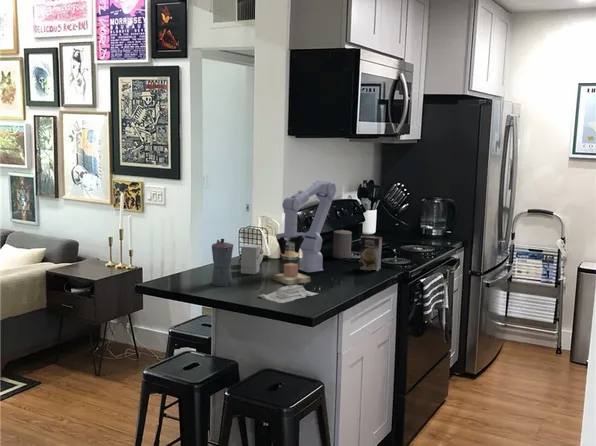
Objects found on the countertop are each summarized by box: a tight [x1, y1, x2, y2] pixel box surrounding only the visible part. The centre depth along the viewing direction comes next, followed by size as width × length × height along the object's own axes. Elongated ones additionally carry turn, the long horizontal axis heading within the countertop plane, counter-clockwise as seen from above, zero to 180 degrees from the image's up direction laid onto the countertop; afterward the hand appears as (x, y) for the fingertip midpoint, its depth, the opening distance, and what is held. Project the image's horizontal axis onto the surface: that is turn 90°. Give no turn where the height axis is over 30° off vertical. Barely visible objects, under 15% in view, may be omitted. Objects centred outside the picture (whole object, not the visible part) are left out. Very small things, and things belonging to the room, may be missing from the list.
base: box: [272, 272, 311, 286], centre depth 277 cm, size 12×12×2 cm
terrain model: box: [257, 284, 319, 304], centre depth 252 cm, size 17×23×5 cm
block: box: [283, 262, 299, 277], centre depth 277 cm, size 4×4×5 cm
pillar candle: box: [332, 228, 353, 260], centre depth 331 cm, size 10×10×15 cm
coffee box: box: [359, 235, 383, 272], centre depth 303 cm, size 9×6×16 cm
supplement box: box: [240, 244, 261, 275], centre depth 290 cm, size 7×7×13 cm
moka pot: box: [210, 238, 234, 287], centre depth 267 cm, size 10×15×20 cm, turn 27°
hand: (289, 253), depth 285 cm, fingers open, 7 cm apart
